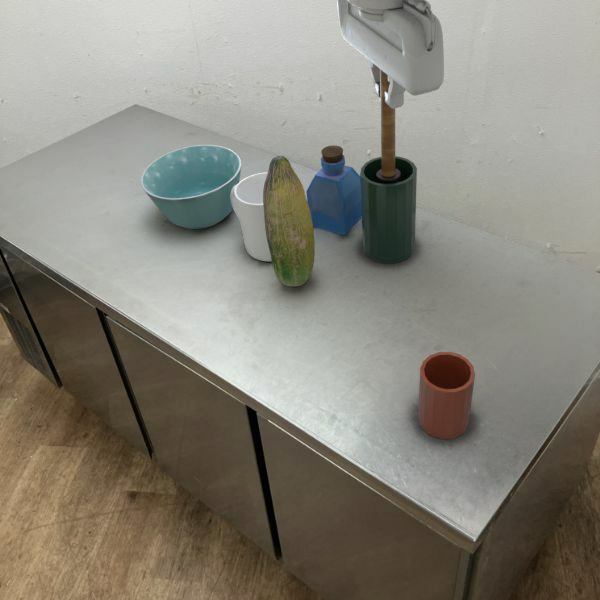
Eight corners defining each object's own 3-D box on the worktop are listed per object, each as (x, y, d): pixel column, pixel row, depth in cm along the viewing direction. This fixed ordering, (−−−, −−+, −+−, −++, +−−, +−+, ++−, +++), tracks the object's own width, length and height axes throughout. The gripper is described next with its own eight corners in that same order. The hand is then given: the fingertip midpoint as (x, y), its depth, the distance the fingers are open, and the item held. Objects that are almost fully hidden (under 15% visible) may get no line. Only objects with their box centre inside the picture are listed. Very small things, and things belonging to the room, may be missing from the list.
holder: (478, 428, 70) (485, 381, 65) (433, 446, 69) (436, 399, 64) (452, 393, 74) (457, 345, 68) (409, 409, 73) (411, 361, 67)
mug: (218, 239, 100) (205, 182, 93) (257, 214, 104) (247, 158, 97) (271, 271, 93) (261, 211, 86) (311, 242, 97) (305, 184, 90)
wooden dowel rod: (404, 219, 90) (406, 64, 75) (383, 226, 89) (381, 70, 74) (394, 207, 92) (393, 54, 77) (373, 214, 91) (369, 61, 77)
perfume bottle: (364, 213, 101) (361, 144, 93) (344, 235, 97) (340, 166, 89) (330, 204, 104) (324, 136, 96) (309, 225, 100) (302, 157, 92)
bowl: (138, 239, 102) (123, 195, 96) (175, 184, 113) (163, 142, 107) (231, 246, 98) (222, 201, 93) (260, 188, 109) (253, 145, 104)
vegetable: (326, 277, 91) (315, 151, 77) (307, 306, 87) (291, 178, 73) (288, 268, 93) (270, 144, 80) (267, 295, 89) (245, 170, 76)
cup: (424, 254, 92) (427, 176, 84) (376, 269, 91) (374, 191, 82) (400, 226, 98) (401, 150, 89) (355, 241, 96) (351, 164, 87)
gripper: (463, -1, 63) (455, 129, 72) (374, -48, 77) (376, 65, 87) (405, 13, 62) (404, 144, 71) (325, -37, 76) (333, 76, 85)
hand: (388, 100), depth 79 cm, fingers closed on wooden dowel rod, 2 cm apart
